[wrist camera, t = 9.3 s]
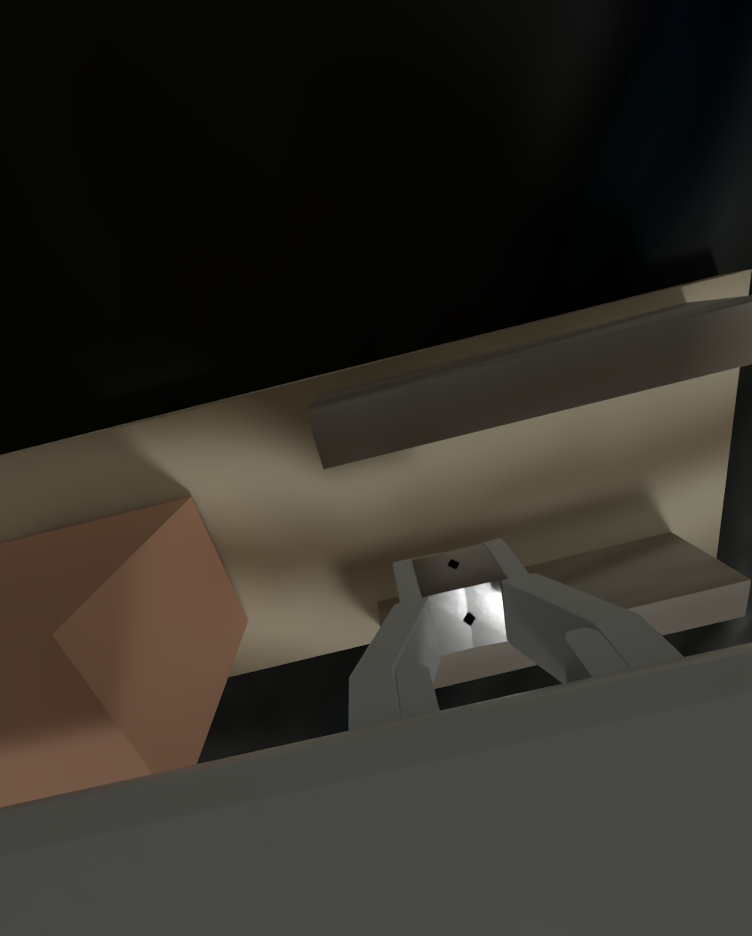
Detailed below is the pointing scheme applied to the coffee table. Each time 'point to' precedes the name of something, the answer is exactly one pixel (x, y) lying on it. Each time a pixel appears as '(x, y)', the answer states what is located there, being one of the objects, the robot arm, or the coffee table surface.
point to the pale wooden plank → (445, 473)
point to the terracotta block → (111, 650)
